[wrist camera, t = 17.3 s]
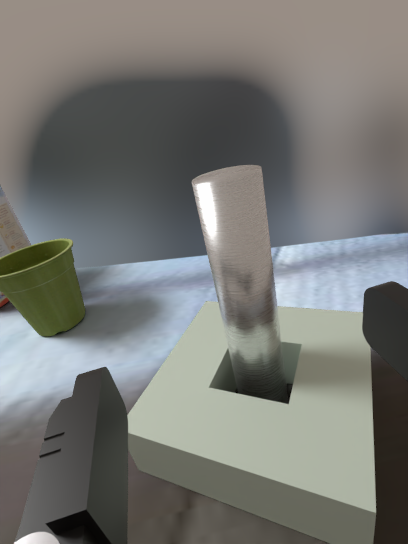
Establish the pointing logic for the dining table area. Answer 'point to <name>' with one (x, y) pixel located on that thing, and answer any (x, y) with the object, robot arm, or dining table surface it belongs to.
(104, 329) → the dining table surface
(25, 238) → the cracker box
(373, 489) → the hole block
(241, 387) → the long steel pin
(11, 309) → the dining table surface
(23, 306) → the plant pot
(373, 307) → the robot arm
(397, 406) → the dining table surface
